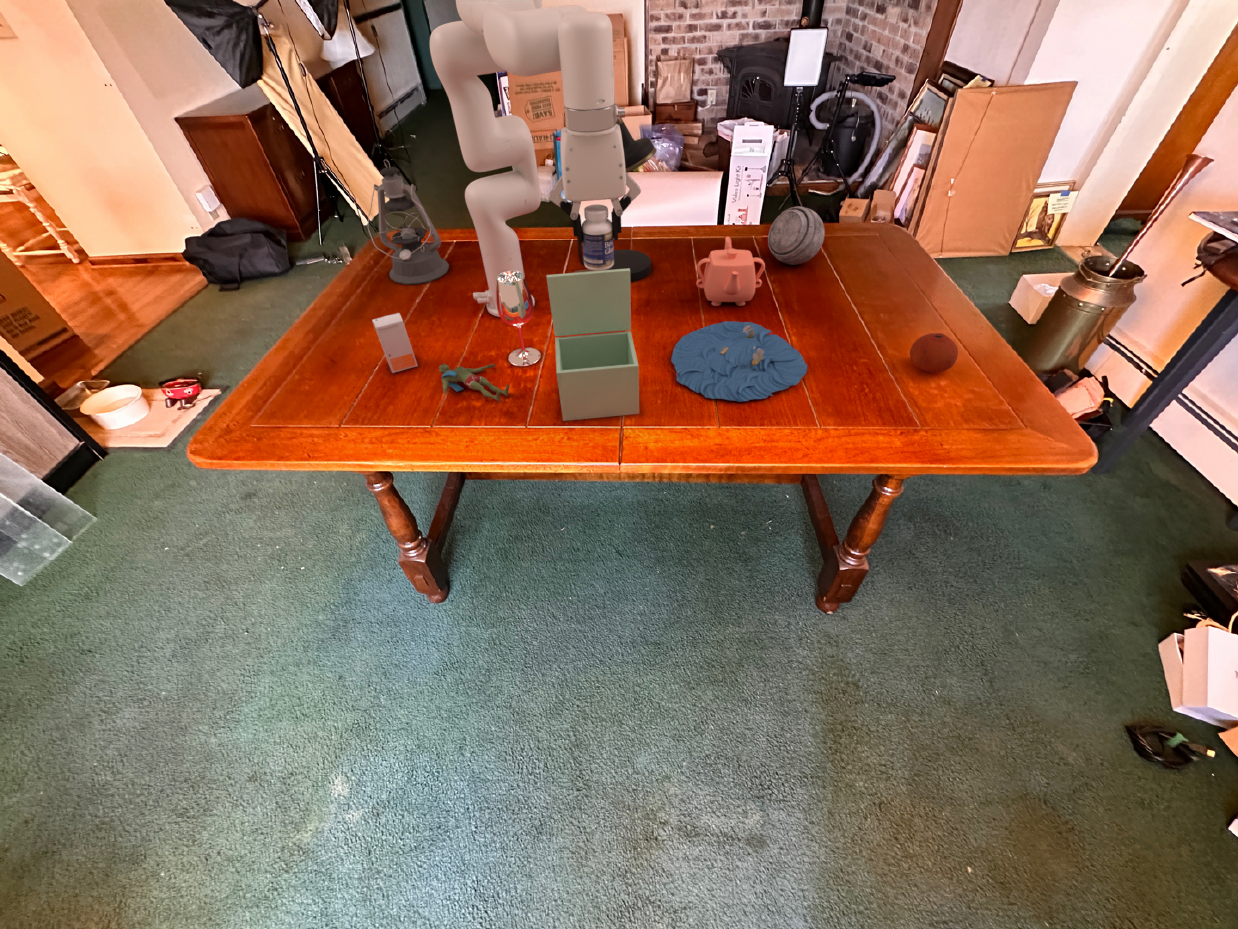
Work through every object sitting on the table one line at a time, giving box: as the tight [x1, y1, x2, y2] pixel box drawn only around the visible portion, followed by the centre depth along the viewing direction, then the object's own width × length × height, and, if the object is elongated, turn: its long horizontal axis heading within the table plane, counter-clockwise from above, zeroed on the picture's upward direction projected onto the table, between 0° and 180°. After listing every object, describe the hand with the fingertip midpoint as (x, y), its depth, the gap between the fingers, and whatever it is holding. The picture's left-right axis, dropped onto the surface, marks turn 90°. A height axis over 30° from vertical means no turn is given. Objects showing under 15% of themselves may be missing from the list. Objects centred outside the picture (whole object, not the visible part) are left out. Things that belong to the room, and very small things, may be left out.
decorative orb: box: [767, 205, 826, 266], centre depth 154 cm, size 15×14×15 cm
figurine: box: [438, 363, 510, 402], centre depth 121 cm, size 16×4×18 cm
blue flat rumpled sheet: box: [670, 320, 809, 403], centre depth 123 cm, size 30×30×5 cm
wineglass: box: [496, 271, 542, 367], centre depth 123 cm, size 8×8×20 cm
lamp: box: [576, 118, 657, 283], centre depth 147 cm, size 16×22×38 cm
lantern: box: [367, 159, 450, 286], centre depth 152 cm, size 18×20×30 cm
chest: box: [554, 330, 640, 422], centre depth 114 cm, size 13×16×12 cm
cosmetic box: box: [371, 312, 419, 374], centre depth 125 cm, size 6×4×12 cm
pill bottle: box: [581, 204, 615, 271], centre depth 96 cm, size 5×5×10 cm
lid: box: [546, 268, 632, 337], centre depth 110 cm, size 13×16×5 cm
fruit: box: [909, 332, 959, 374], centre depth 119 cm, size 9×9×8 cm
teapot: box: [695, 236, 766, 307], centre depth 142 cm, size 15×17×13 cm
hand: (597, 237), depth 96 cm, fingers closed on pill bottle, 5 cm apart
